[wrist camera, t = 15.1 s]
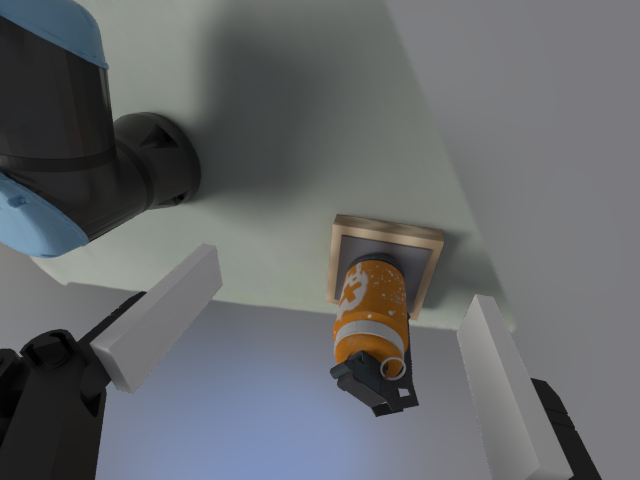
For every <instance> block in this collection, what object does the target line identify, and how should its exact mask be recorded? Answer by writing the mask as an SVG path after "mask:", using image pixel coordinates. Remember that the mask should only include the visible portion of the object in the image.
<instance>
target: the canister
mask: <svg viewBox="0 0 640 480" xmlns="http://www.w3.org/2000/svg"><path fill="white" fill-rule="evenodd" d="M410 318H411V316H410V315H409V314H408V312H407V308H406V292H405V276H404V272H403V270H402V268H401V266H400V265H399V264H398V263H397V262H396V261H394V260H393V259H391V258H390V257H387V256H384V255H380V254H367V255H363V256H360V257H358V258H356V259H355V260H353V261H352V262H351V263H350V265H349V266H348V269H347V272H346V277H345V281H344V285H343V290H342V294H341V298H340V302H339V307H338V311H337V315H336V320H335V324H334V328H333V338H334V341H335V346H334V355H335V358H336V361H337V363H338V365H336V366H335V367H333V368H331V370H330V374H331V375H332V377H333V378H334V379H337V378H338V382H337V386H338V387H339V388H340V389H342V390H343V391H347V392H349V393H350V394H352V395H353V396H354V397H356V398H357V399H359V400H360V401H362V402H363V403H365V404H366V405H367V406H369V407H370V408H371V409H372V411H373V413H374V414H375V416H376V417H378V416H382V415H387V414H392V413H397V412H402V411H403V409H404V408H408V407H413V406H418V405H419V403H418V400H417V397H416V393H415V390H414V386H413V382H412V366H411V365H412V363H411V362H412V361H411V352H410V337H409V321H408V320H409V319H410ZM398 388H401V389H408V391H409V394H410V395H408V396H404V397H400V395H399V390H398ZM384 402H387V403H384ZM381 403H384V404H381Z"/></svg>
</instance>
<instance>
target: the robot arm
mask: <svg viewBox="0 0 640 480" xmlns="http://www.w3.org/2000/svg"><path fill="white" fill-rule="evenodd" d="M107 69H109V66H108V64H107V63H106V61H105V56H104V51H103V46H102V40H101V34H100V30H99V27H98V24H97V22H96V20H95V19H94V17H93V16H92V15H91V14H90V13H89V12H88V11H87V10H86V9H85V8H84V7H83V6H81V5H80V4H78V3H76V2H75V1H73V0H0V241H1V242H2V243H4V244H6V245H7V246H9V247H11V248H13V249H15V250H17V251H20V252H22V253H25V254H27V255H31V256H35V257H40V258H53V257H58V256H61V255H63V254H65V253H67V252H70V251H72V250H74V249H76V248H78V247H80V246H85V245H87V244H88V243H90V242H91V241H93V240H95V239H97V238H98V237H100V236H102V235H104V234H105V233H107V232H109V231H111V230H112V229H114V228H116V227H118V226H119V225H121V224H123V223H125V222H126V221H128V220H130V219H132V218H133V217H135V216H137V215H139V214H140V213H142V212H144V211H146V210H151V209H159V208H166V207H173V206H177V205H179V204H181V203H183V202H185V201H186V200H188V199H190V198H191V197H192V196H193V195H194V194H195V193H196V191H197V189H198V187H199V183H200V166H199V161H198V158H197V155H196V153H195V151H194V149H193V147H192V145H191V143H190V142H189V140H188V139H187V138H186V136H185V135H184V134H183V133H182V132H181V131H180V129H178V128H177V127H176V126H175V125H174V124H173V123H171V122H170V121H168V120H167V119H165V118H163V117H161V116H159V115H156V114H153V113H148V112H140V113H133V114H128V115H125V116H122V117H120V118H118V119H117V120H116V121H114V122H113V119H112V110H111V101H110V92H109V83H108V74H107ZM222 285H223V284H222V278H221V272H220V267H219V261H218V255H217V249H216V246H214V245H209V244H202V245H201V246H200V247H198V248H197V249H196V250H195V251H194V252H193V253H192V254H191V255H189V256H188V257H187V258H186V259H185V260H184V261H183V262H181V263H180V264H179V265H178V266H177V267H176V268H175V269H174V270H172V271H171V272H170V273H169V274H168V275H167V276H166V277H164V278H163V279H162V280H161V281H160V282H159V283H158V284H156V285H155V286H154V287H153V288H152V289H151V290H150V291H149V292H143V291H142V292H140V293H138V294H136V295H134V296H133V297H131V298H129V299H128V300H127V301H125V302H124V303H123V304H122V305H121V306H119V308H118V309H116V310H115V311H114V312H112V313H111V315H110V316H107V317H106V318H105V319H104V320H103V321H102V322H100V323H99V324H98V325H97V326H96V327H94V328H93V329H92V330H91V331H90V332H88V333H87V334H86V335H85V336H84V337H83V338H81V339H80V340H79V341H78V342H76V341H75V339H74V338H73V336H72V335H71V333H69V332H68V331H67V330H63V329H58V330H51V331H49V332H46V333H43V334H41V335H39V336H37V337H35V338H33V339H32V340H30V341H29V342H28V343H27V344H26V345H24V347H23V348H22V349H21V351H20V354H21V355H22V356H23V357H19V356H18V354H17V353H16V352H15V351H14V350H12V349H0V480H95V475H96V468H97V460H98V453H99V446H100V438H101V431H102V424H103V417H104V409H105V402H106V395H107V393H106V388H105V387H106V386H107V385H108V384H109V382H110V381H111V380H112V382H113V384H114V385H115V387H116V389H118V390H121V391H125V392H128V393H132V394H134V393H135V392H136V390H137V389H138V388H139V386H140V385H141V384H142V383H143V382H144V381H145V379H146V378H147V377H148V376H149V374H150V373H151V372H152V371H153V369H154V368H155V367H156V366H157V365H158V363H159V362H160V361H161V360H162V358H163V357H164V356H165V355H166V354H167V352H168V351H169V350H170V349H171V347H172V346H173V345H174V344H175V342H176V341H177V340H178V339H179V338H180V336H181V335H182V334H183V333H184V331H185V330H186V329H187V328H188V327H189V325H190V324H191V323H192V322H193V320H194V319H195V318H196V317H197V316H198V314H199V313H200V312H201V311H202V310H203V308H204V307H205V306H206V305H207V303H208V302H209V301H210V300H211V299H212V297H213V296H214V295H215V294H216V292H217V291H218V290H219V289H220V288H221V286H222ZM457 337H458V342H459V345H460V349H461V354H462V358H463V362H464V366H465V370H466V375H467V379H468V383H469V387H470V391H471V395H472V399H473V403H474V408H475V412H476V416H477V420H478V424H479V428H480V432H481V436H482V440H483V445H484V449H485V452H486V457H487V461H488V465H489V469H490V473H491V477H492V480H602V479H601V477H600V475H599V473H598V471H597V469H596V467H595V465H594V464H593V462H592V460H591V458H590V456H589V454H588V452H587V450H586V448H585V446H584V444H583V442H582V440H581V438H580V436H579V434H578V433H577V431H575V427H574V425H573V423H572V421H571V419H570V417H569V416H568V415H567V414H568V413H567V411H566V409H565V407H564V405H563V403H562V401H561V399H560V397H559V396H558V395H557V394H556V393H555V391H553V389H552V388H551V387H550V386H549V385H548V384H547V382H546V381H542V380H538V379H533V378H530V377H529V375H528V372H527V370H526V368H525V366H524V364H523V361H522V359H521V357H520V355H519V352H518V350H517V348H516V346H515V343H514V341H513V339H512V337H511V335H510V332H509V330H508V328H507V326H506V323H505V321H504V319H503V317H502V315H501V312H500V310H499V308H498V306H497V303H496V301H495V299H494V297H491V296H485V295H480V294H475V296H474V298H473V300H472V302H471V305H470V307H469V309H468V311H467V313H466V315H465V317H464V319H463V321H462V323H461V326H460V328H459V330H458V332H457Z"/></svg>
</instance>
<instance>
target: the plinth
mask: <svg viewBox="0 0 640 480" xmlns="http://www.w3.org/2000/svg"><path fill="white" fill-rule="evenodd" d="M443 245H444V239H443V236H442V232H441V230H437V229H430V228H424V227H417V226H410V225H404V224H397V223H391V222H384V221H377V220H371V219H364V218H358V217H351V216H344V215H338V214H337V216H336V218H335V221H334V223H333V229H332V241H331V252H330V263H329V274H328V285H327V296H326V302H329V303H334V304H339V302H340V298H341V294H342V290H343V285H344V281H345V277H346V272H347V269H348V266H349V265H350V263H351V262H352V261H353V260H355V259H356V258H358V257H360V256H363V255H367V254H380V255H384V256H387V257H390V258H391V259H393V260H394V261H396V262H397V263H398V264H399V265H400V266H401V268H402V270H403V272H404V276H405V292H406V308H407V312H408V314H409V315H410V316H411V318H410V319H411V320H416V321H417V319H418V316H419V313H420V311H421V308H422V305H423V302H424V299H425V296H426V293H427V290H428V288H429V285H430V282H431V279H432V276H433V273H434V270H435V267H436V265H437V262H438V259H439V256H440V253H441V250H442V247H443Z"/></svg>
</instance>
